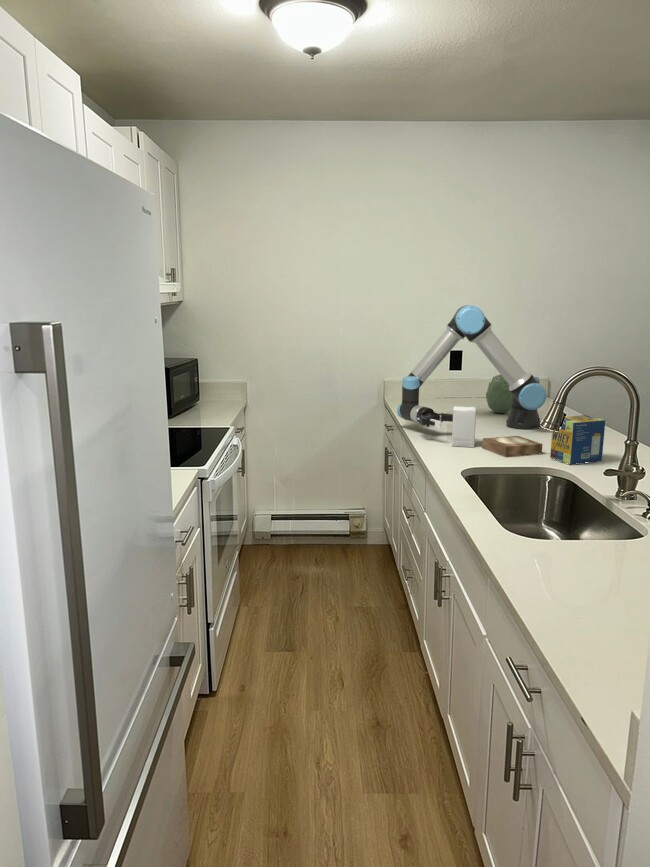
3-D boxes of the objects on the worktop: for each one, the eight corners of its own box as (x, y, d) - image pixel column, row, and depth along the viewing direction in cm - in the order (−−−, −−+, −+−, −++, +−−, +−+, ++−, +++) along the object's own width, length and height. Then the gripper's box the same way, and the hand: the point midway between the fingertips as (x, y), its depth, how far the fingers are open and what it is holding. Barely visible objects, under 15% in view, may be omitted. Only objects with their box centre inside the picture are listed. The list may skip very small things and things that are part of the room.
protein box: (549, 459, 251) (552, 417, 248) (581, 455, 257) (584, 414, 254) (569, 465, 242) (572, 422, 239) (602, 461, 248) (606, 419, 245)
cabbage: (511, 410, 357) (513, 372, 353) (520, 416, 339) (523, 376, 335) (481, 410, 357) (483, 372, 353) (489, 416, 339) (491, 376, 335)
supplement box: (474, 447, 270) (476, 410, 267) (451, 446, 271) (452, 409, 268) (474, 443, 278) (476, 406, 275) (452, 442, 280) (453, 405, 277)
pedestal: (517, 445, 274) (517, 434, 273) (541, 454, 259) (542, 443, 258) (482, 448, 269) (482, 437, 268) (505, 457, 254) (505, 445, 253)
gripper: (445, 421, 302) (477, 429, 284) (398, 426, 291) (429, 435, 273) (446, 404, 301) (478, 411, 283) (399, 408, 289) (429, 416, 271)
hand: (454, 423), depth 278 cm, fingers open, 13 cm apart
